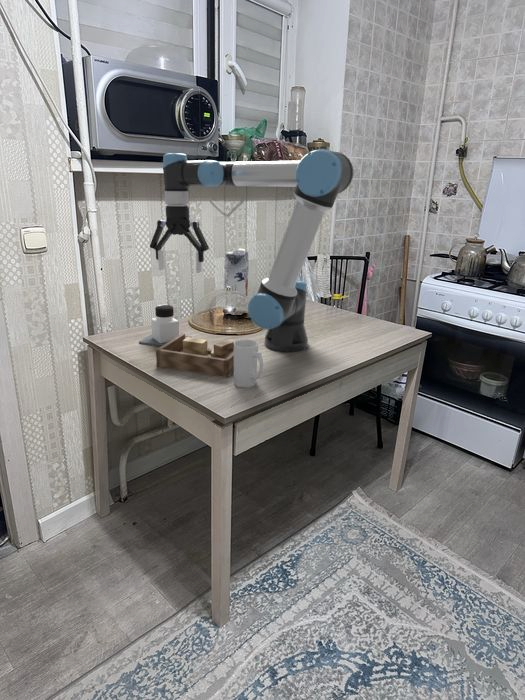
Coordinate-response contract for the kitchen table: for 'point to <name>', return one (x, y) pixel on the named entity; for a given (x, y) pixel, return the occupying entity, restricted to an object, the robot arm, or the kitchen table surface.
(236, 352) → the mug
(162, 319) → the medicine bottle
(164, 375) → the kitchen table surface
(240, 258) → the juice carton
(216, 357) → the offcut lower
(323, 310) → the kitchen table surface
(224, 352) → the offcut upper
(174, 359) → the tray
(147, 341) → the mat
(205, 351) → the offcut
